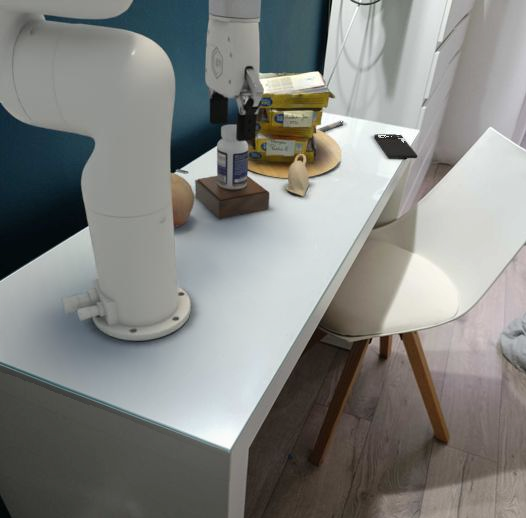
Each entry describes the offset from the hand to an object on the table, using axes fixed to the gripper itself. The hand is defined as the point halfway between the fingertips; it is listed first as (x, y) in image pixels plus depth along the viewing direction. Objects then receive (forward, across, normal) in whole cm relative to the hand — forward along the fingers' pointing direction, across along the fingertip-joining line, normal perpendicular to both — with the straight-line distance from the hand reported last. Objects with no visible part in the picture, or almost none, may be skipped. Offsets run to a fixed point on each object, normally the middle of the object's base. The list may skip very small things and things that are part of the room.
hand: (231, 131), depth 84 cm
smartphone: (+11, -6, +48) cm, 50 cm away
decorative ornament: (+13, -2, +16) cm, 21 cm away
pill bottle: (+10, -1, +1) cm, 10 cm away
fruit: (+13, +2, -12) cm, 18 cm away
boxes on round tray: (+15, -16, +26) cm, 34 cm away
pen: (+10, -30, +45) cm, 54 cm away
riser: (+13, -1, +1) cm, 13 cm away
